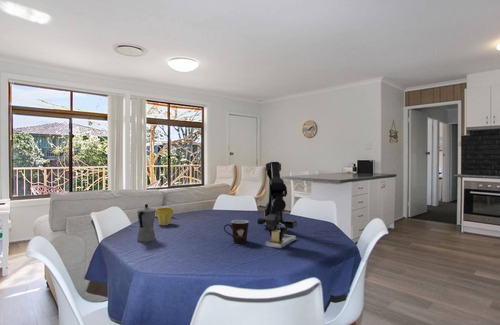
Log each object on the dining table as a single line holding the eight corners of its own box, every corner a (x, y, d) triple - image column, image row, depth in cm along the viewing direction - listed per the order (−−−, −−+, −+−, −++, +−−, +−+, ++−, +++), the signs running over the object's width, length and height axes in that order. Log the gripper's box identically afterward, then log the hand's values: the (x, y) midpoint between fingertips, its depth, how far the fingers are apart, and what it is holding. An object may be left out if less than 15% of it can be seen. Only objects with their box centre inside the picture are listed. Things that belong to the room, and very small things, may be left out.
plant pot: (166, 221, 191) (166, 206, 191) (176, 223, 185) (176, 208, 185) (152, 224, 182) (152, 209, 182) (163, 226, 176) (163, 210, 176)
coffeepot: (141, 236, 154) (142, 202, 154) (159, 236, 154) (159, 202, 154) (129, 244, 139) (129, 206, 139) (149, 244, 139) (149, 207, 139)
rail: (265, 245, 139) (265, 241, 139) (281, 237, 154) (281, 233, 154) (280, 248, 134) (280, 244, 134) (295, 239, 150) (295, 235, 150)
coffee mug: (250, 240, 148) (251, 220, 148) (245, 244, 140) (245, 224, 140) (229, 238, 152) (229, 218, 152) (222, 242, 144) (223, 222, 143)
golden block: (271, 243, 140) (271, 231, 139) (275, 241, 143) (275, 229, 143) (279, 245, 137) (279, 232, 137) (282, 243, 141) (282, 230, 141)
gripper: (251, 208, 138) (251, 241, 138) (288, 212, 128) (288, 247, 128) (263, 205, 147) (262, 236, 147) (297, 208, 138) (297, 241, 138)
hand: (276, 240), depth 140 cm, fingers closed on golden block, 4 cm apart
